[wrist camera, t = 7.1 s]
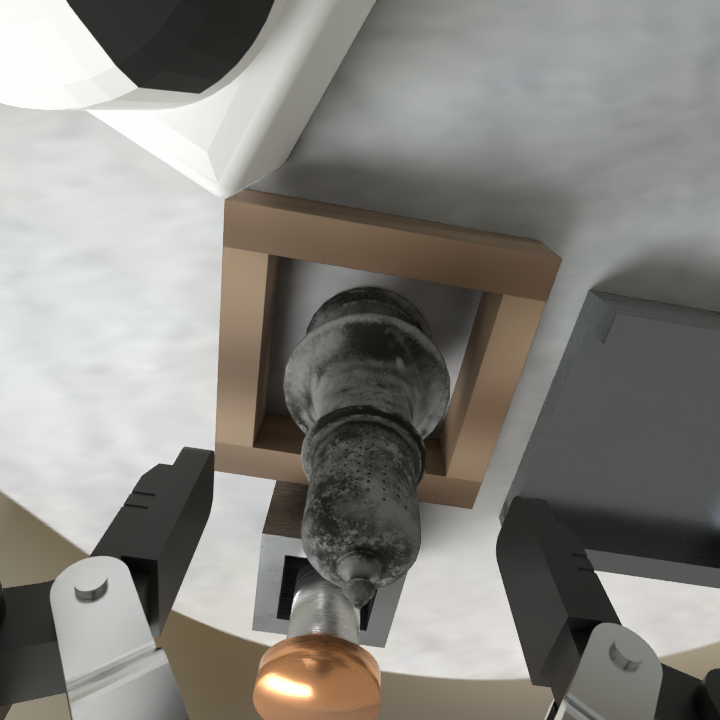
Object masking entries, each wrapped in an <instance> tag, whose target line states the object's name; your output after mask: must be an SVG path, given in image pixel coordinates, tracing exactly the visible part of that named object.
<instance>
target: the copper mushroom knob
mask: <svg viewBox="0 0 720 720" xmlns="http://www.w3.org/2000/svg"><path fill="white" fill-rule="evenodd" d="M359 639H360V609H356V608H355V607H354V605H353V604H352V603H351V602H350V601H349V599H348V598H347V597H346V596H345V595H344V594H343V589H342V587H341V586H338V585H336V584H333V583H331V582H330V581H328V580H327V579H325V578H324V577H322V576H321V575H320V574H319V573H318V571H317V570H316V569H315V568H314V567H313V566H312V565H311V563H310V562H309V560H308V558H303V557H300V562H299V568H298V574H297V580H296V586H295V592H294V598H293V603H292V609H291V615H290V621H289V627H288V633H287V639H286V640H283V641H281V642H279V643H277V644H275V645H273V646H272V647H271V648H269V649H268V650H267V651H266V652H265V654H264V655H263V657H262V659H261V661H260V665H259V670H258V674H257V679H256V684H255V688H254V693H253V702H254V705H255V708H256V710H257V711H258V712H259V714H260V715H261V716H262V717H263V718H264V719H265V720H375V718H376V717H377V716H378V714H379V711H380V706H381V704H380V703H381V701H380V700H381V698H380V697H381V696H380V694H381V693H380V668H379V666H378V663H377V662H376V660H375V659H374V657H373V656H372V655H371V654H370V653H369V652H368V651H366V650H365V649H364V648H362V647H360V646H359Z"/></svg>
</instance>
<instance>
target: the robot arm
mask: <svg viewBox="0 0 720 720" xmlns="http://www.w3.org/2000/svg"><path fill="white" fill-rule="evenodd" d="M214 461H215V454H214V451H211V450H204V449H198V448H191V447H184V448H183V449H182V450H181V452H180V454H179V456H178V457H177V459H176V461H175V462H174V464H173V465H166V464H158V465H156V466H155V467H154V468H152V469H151V470H149V471H148V472H147V473H145V474H144V475H142V477H141V478H140V480H139V481H138V483H137V484H136V486H135V488H134V489H133V491H132V494H130V495H129V497H128V498H127V500H126V501H125V503H124V506H123V507H122V508H121V509H120V511H119V512H118V514H117V515H116V517H115V518H114V520H113V521H112V523H111V524H110V526H109V528H108V529H107V531H106V532H105V534H104V535H103V537H102V538H101V540H100V541H99V543H98V544H97V546H96V548H95V549H94V551H93V552H92V554H91V555H90V556H89V558H87V559H84V560H81V561H78V562H77V563H75V564H73V565H71V566H70V567H68V568H67V569H65V570H64V571H63V572H62V573H61V574H60V575H59V576H58V577H57V578H56V579H55V580H52V581H48V582H44V583H39V584H32V585H24V586H17V587H10V588H3V589H2V585H1V583H0V720H4V719H5V716H6V715H7V713H8V711H9V710H10V708H11V706H12V704H14V703H19V702H24V701H28V700H33V699H38V698H43V697H47V696H52V695H56V694H61V693H66V697H67V702H68V707H69V712H70V718H71V720H189V717H188V714H187V712H186V709H185V706H184V704H183V701H182V698H181V695H180V693H179V690H178V687H177V684H176V682H175V679H174V676H173V673H172V670H171V667H170V665H169V662H168V660H167V657H166V655H165V653H164V651H163V649H162V648H161V647H160V648H157V647H156V645H155V642H154V640H153V637H152V636H158V637H159V636H160V634H161V632H162V630H163V627H164V625H165V622H166V620H167V618H168V615H169V613H170V610H171V608H172V606H173V603H174V601H175V598H176V596H177V593H178V591H179V589H180V586H181V584H182V581H183V579H184V577H185V574H186V572H187V569H188V567H189V564H190V562H191V560H192V557H193V555H194V552H195V550H196V547H197V545H198V543H199V540H200V538H201V535H202V533H203V530H204V528H205V526H206V523H207V521H208V518H209V515H210V511H211V507H212V501H213V485H214ZM496 557H497V562H498V566H499V570H500V573H501V577H502V580H503V584H504V587H505V591H506V594H507V598H508V601H509V605H510V608H511V612H512V615H513V619H514V622H515V626H516V629H517V633H518V636H519V640H520V643H521V647H522V650H523V654H524V657H525V661H526V664H527V668H528V671H529V675H530V678H531V682H532V685H536V686H545V687H551V689H552V693H553V696H554V700H553V702H552V704H551V705H550V707H549V710H548V712H547V715H546V717H545V719H544V720H720V669H713V670H711V671H710V672H708V674H707V675H706V676H705V677H704V679H703V680H700V679H697V678H695V677H692V676H690V675H688V674H685V673H683V672H681V671H678V670H676V669H673V668H671V667H669V666H667V665H664V664H662V663H660V661H659V659H658V657H657V655H656V654H655V652H654V650H653V649H652V648H651V647H650V646H649V644H648V643H647V642H646V641H645V640H643V639H642V638H641V637H640V636H639V635H637V634H636V633H634V632H633V631H631V630H630V629H628V628H626V627H624V626H622V624H621V622H620V620H619V618H618V616H617V614H616V612H615V610H614V608H613V606H612V604H611V602H610V600H609V598H608V596H607V594H606V592H605V590H604V588H603V586H602V584H601V582H600V580H599V578H598V576H597V574H596V573H594V568H593V566H592V564H591V562H590V560H589V559H587V554H586V552H585V550H584V548H583V546H582V544H581V542H580V540H579V538H578V537H577V536H576V535H575V534H574V533H573V531H572V530H571V529H570V528H569V527H568V526H567V525H566V524H565V523H564V522H559V521H556V520H555V518H554V515H553V513H552V511H551V509H550V507H549V505H548V503H547V501H546V500H543V499H537V498H530V497H523V496H515V497H514V498H513V500H512V502H511V504H510V507H509V510H508V512H507V515H506V517H505V520H504V523H503V525H502V528H501V530H500V533H499V535H498V539H497V544H496Z"/></svg>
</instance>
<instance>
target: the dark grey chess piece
mask: <svg viewBox="0 0 720 720" xmlns="http://www.w3.org/2000/svg"><path fill="white" fill-rule="evenodd" d="M283 388H284V394H285V401H286V405H287V407H288V409H289V411H290V414H291V416H292V418H293V420H294V422H295V423H296V424H297V425H298V426H299V427H300V429H301V430H302V431H303V432H304V433H305V434H306V436H305V438H304V440H303V445H302V451H301V461H302V467H303V470H304V473H305V475H306V477H307V479H308V481H309V482H310V483H309V488H308V494H307V499H306V505H305V510H304V516H303V521H302V527H301V537H302V544H303V550H304V553H305V555H306V557H307V558H308V560H309V562H310V563H311V565H312V566H313V567H314V568H315V569H316V570H317V571H318V573H319V574H320V575H321V576H322V577H324V578H325V579H327V580H328V581H330V582H331V583H333V584H336V585H338V586H341V587H342V589H343V594H344V595H345V596H346V597H347V598H348V599H349V601H350V602H351V603H352V604H353V605H354V607H355V608H356V609H361V608H362V607H363V605H365V604H367V602H368V601H369V599H371V598H372V597H373V596H374V594H375V589H379V588H383V587H386V586H388V585H390V584H393V583H394V582H396V581H397V580H398V579H400V578H401V577H403V575H404V574H405V573H406V572H407V571H408V570H409V569H410V568H411V566H412V565H413V564H414V562H415V561H416V558H417V555H418V552H419V549H420V543H421V526H420V516H419V507H418V497H417V486H418V485H419V483H420V482H421V480H422V479H423V476H424V473H425V470H426V467H427V452H426V448H425V445H424V442H423V439H424V438H425V437H427V436H428V435H429V434H430V433H431V432H432V431H433V430H434V429H435V427H436V426H437V424H438V423H439V422H440V420H441V419H442V417H443V416H444V413H445V410H446V407H447V404H448V401H449V398H450V377H449V374H448V370H447V367H446V363H445V360H444V358H443V356H442V354H441V353H440V351H439V350H438V348H437V347H436V345H435V344H434V342H433V341H432V339H431V335H430V332H429V329H428V325H427V323H426V321H425V320H424V318H423V316H422V315H421V313H420V312H419V310H418V309H417V308H416V307H414V306H413V305H412V304H411V303H410V302H409V301H408V300H406V299H405V298H403V297H401V296H399V295H397V294H395V293H393V292H391V291H387V290H382V289H377V288H358V289H353V290H350V291H346V292H343V293H340V294H338V295H336V296H335V297H333V298H332V299H330V300H328V301H327V302H325V303H324V304H323V305H322V306H321V308H320V309H319V310H318V311H317V312H316V313H315V314H314V316H313V318H312V320H311V322H310V324H309V326H308V328H307V332H306V336H305V337H304V338H303V339H302V340H301V341H300V343H299V344H298V345H297V346H296V347H295V349H294V351H293V353H292V355H291V357H290V359H289V361H288V363H287V365H286V370H285V376H284V383H283Z"/></svg>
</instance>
